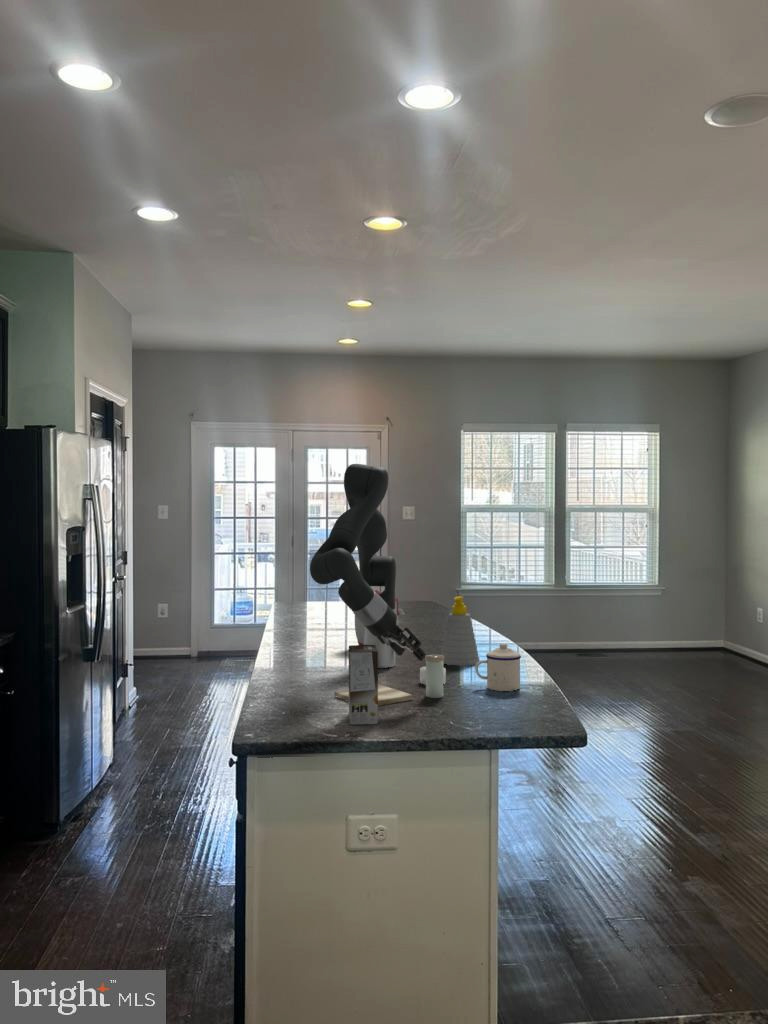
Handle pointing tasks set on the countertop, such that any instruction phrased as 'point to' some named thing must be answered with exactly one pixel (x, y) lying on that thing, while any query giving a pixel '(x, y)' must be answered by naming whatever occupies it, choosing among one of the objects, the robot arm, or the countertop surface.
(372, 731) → the countertop surface
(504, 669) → the teacup with lid
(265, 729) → the countertop surface
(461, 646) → the soap bottle
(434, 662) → the jar
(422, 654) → the robot arm
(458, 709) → the countertop surface
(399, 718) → the countertop surface
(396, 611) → the citrus juicer
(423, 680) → the white domed cylinder
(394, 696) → the board
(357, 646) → the coffee box
